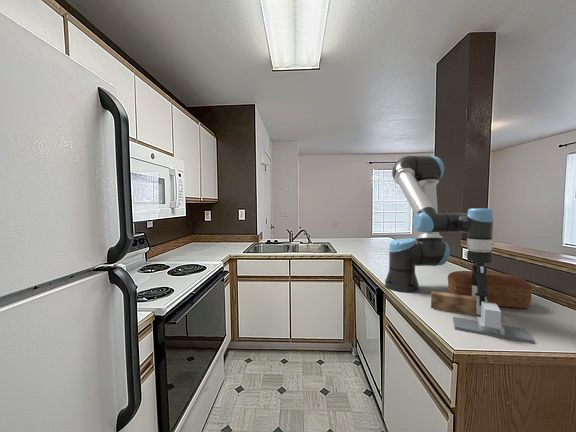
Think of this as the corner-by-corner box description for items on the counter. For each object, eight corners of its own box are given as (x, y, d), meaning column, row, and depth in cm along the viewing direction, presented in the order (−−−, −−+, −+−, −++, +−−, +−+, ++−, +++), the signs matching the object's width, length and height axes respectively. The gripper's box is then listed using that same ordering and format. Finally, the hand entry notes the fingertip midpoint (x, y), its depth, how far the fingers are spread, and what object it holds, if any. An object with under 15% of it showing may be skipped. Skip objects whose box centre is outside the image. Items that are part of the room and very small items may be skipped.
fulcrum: (454, 329, 91) (455, 305, 91) (453, 319, 99) (453, 297, 99) (534, 343, 82) (535, 317, 82) (525, 331, 90) (526, 307, 90)
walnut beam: (430, 309, 109) (431, 293, 109) (431, 305, 113) (431, 290, 112) (487, 318, 101) (488, 301, 100) (485, 314, 104) (486, 298, 104)
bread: (444, 293, 128) (445, 266, 127) (518, 300, 119) (520, 271, 119) (452, 304, 115) (453, 274, 114) (536, 312, 106) (538, 280, 105)
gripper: (499, 256, 90) (498, 322, 90) (486, 247, 112) (485, 300, 112) (471, 254, 93) (470, 318, 94) (464, 246, 115) (463, 297, 116)
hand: (478, 308), depth 103 cm, fingers open, 13 cm apart
